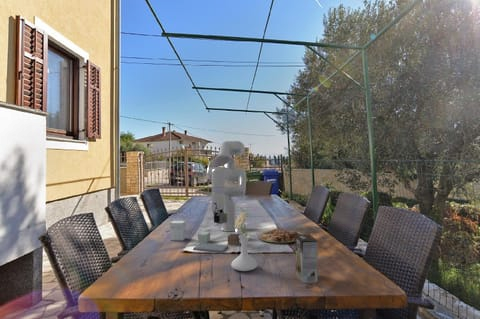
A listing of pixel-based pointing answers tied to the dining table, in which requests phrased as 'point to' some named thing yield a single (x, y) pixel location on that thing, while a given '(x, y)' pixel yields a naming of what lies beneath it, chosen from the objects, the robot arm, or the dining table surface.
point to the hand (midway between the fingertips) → (218, 220)
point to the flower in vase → (243, 248)
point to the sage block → (203, 237)
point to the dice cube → (222, 218)
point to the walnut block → (233, 239)
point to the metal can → (239, 231)
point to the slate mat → (210, 247)
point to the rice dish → (279, 236)
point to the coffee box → (306, 258)
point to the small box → (177, 230)
